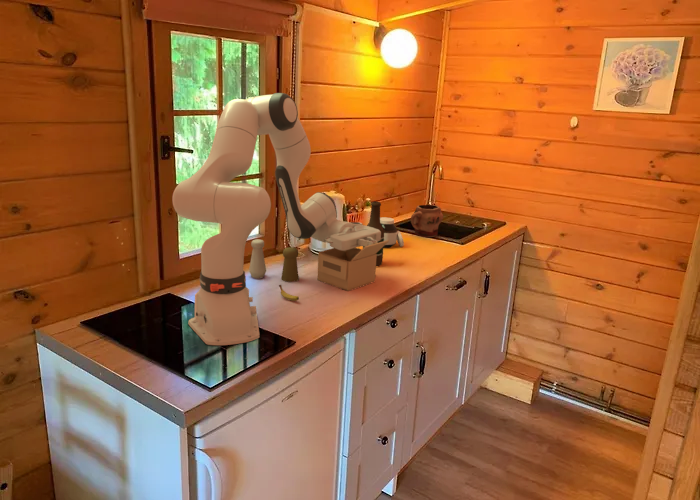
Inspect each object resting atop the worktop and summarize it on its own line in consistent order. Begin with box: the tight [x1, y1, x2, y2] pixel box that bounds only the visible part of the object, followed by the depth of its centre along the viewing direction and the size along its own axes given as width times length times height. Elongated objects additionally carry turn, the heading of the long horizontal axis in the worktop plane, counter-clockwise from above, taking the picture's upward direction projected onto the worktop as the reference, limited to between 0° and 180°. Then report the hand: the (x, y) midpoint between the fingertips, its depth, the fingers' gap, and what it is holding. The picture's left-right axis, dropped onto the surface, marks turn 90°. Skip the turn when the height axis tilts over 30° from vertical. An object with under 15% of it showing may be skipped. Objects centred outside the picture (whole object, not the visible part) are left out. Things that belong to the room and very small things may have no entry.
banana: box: [278, 284, 300, 302], centre depth 170 cm, size 8×2×4 cm, turn 54°
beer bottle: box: [362, 200, 384, 267], centre depth 206 cm, size 8×8×24 cm
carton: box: [317, 247, 377, 292], centre depth 188 cm, size 15×15×10 cm
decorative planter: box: [410, 204, 444, 238], centre depth 251 cm, size 20×12×14 cm, turn 137°
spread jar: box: [380, 216, 405, 249], centre depth 233 cm, size 12×11×12 cm
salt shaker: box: [248, 238, 267, 280], centre depth 187 cm, size 6×6×13 cm
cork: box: [280, 246, 300, 283], centre depth 187 cm, size 6×6×11 cm
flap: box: [352, 240, 389, 261], centre depth 179 cm, size 8×12×1 cm
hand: (374, 244), depth 178 cm, fingers closed, pressing on flap
